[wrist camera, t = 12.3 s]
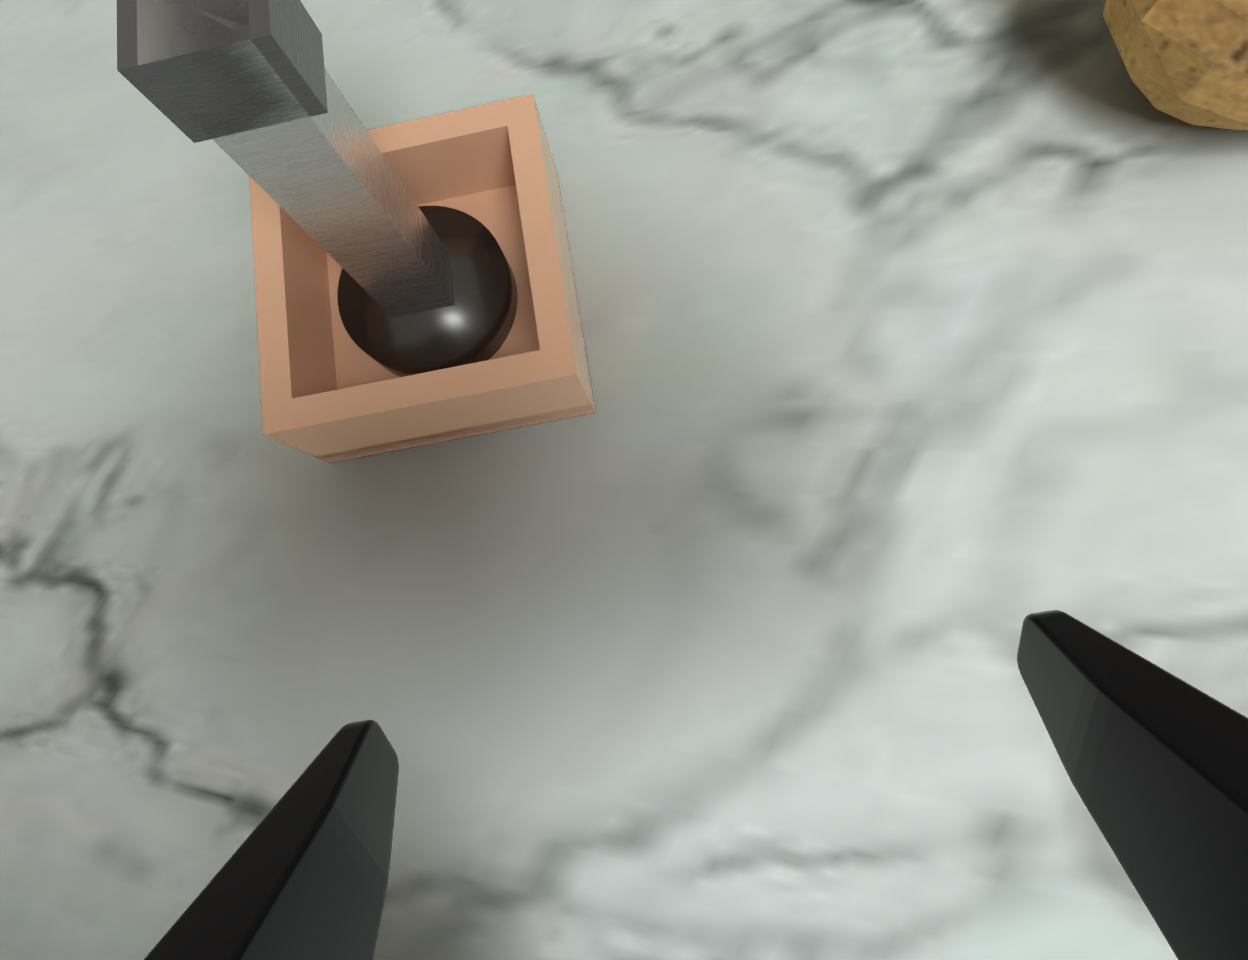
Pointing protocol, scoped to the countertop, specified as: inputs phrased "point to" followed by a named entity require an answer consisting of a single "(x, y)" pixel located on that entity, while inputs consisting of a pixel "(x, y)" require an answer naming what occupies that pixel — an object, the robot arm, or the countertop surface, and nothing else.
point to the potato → (1186, 56)
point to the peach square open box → (447, 398)
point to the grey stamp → (323, 175)
